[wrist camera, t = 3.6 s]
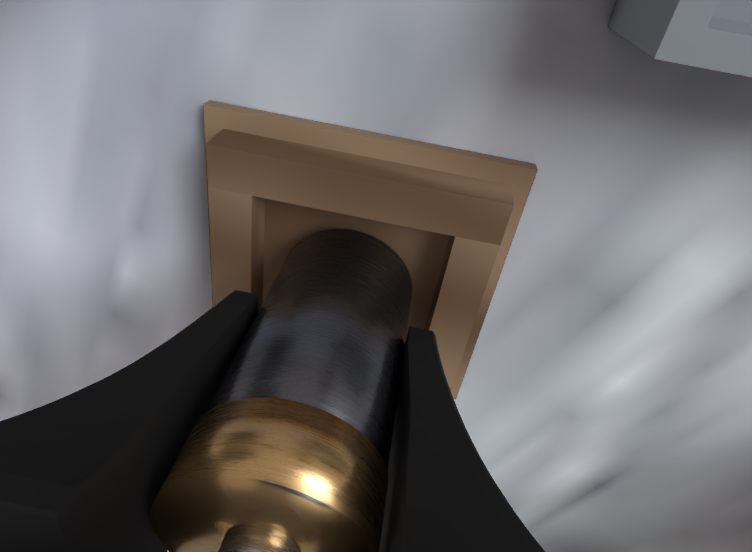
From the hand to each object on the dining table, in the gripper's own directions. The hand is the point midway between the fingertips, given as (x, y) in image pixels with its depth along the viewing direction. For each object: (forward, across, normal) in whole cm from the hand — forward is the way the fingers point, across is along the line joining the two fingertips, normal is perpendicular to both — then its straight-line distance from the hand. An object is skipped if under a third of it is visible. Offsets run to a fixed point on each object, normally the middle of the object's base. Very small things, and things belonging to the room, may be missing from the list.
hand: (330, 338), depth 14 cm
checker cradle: (+3, 0, 0) cm, 3 cm away
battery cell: (+2, 0, 0) cm, 2 cm away
